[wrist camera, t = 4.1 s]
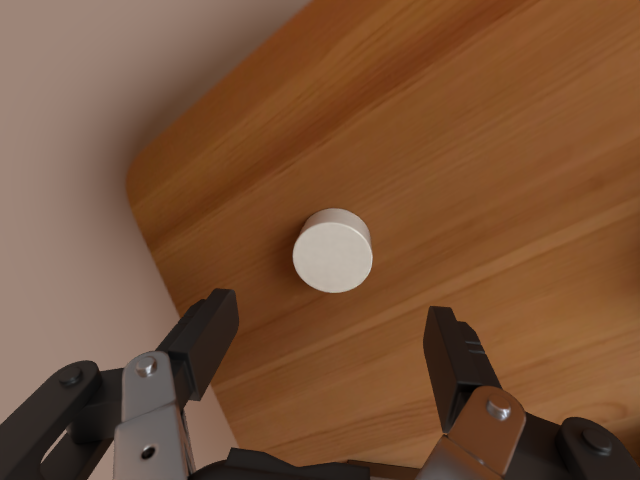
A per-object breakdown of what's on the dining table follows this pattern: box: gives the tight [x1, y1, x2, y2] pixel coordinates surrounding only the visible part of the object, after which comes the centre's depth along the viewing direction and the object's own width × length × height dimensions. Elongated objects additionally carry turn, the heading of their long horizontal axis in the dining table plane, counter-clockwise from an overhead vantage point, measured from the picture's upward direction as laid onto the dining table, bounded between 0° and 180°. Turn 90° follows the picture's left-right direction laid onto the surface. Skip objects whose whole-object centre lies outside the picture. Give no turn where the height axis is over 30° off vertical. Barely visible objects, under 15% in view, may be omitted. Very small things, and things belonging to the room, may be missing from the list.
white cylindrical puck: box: [293, 209, 372, 293], centre depth 19 cm, size 5×5×2 cm
